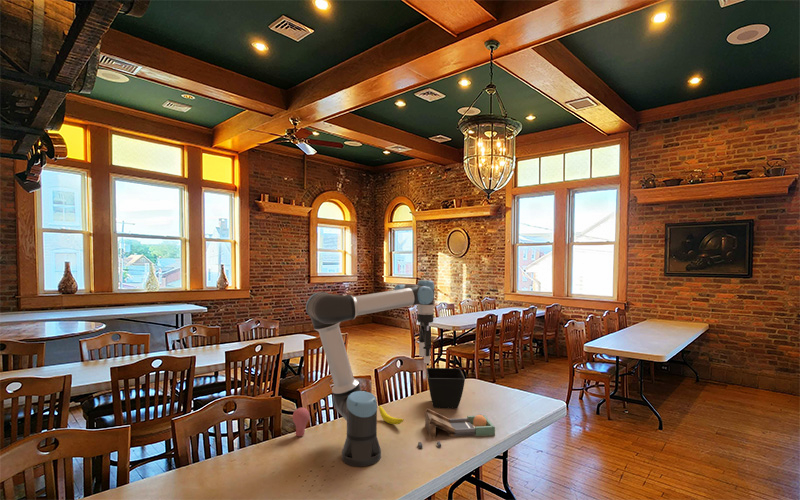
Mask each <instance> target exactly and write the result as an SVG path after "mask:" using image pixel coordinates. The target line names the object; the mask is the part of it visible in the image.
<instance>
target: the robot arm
mask: <svg viewBox="0 0 800 500" xmlns="http://www.w3.org/2000/svg"><path fill="white" fill-rule="evenodd" d="M434 283H435V281H434V280H430V279H429V280H427V279H426V280H425V279H423V280H422V279H419V280H418V281H417V283H416V284H411V283H410V284H404V283H401V284H396V285H395V286H394V288H393V290H392V289H391V290H387V291H380V292H373V293H368V294H362V295H355V296H353V295H352V294H346V295H340V294H339V295H338V294H332V293H328V292H325V291H321V292H316V293H313V294H311V296H309V298H308V299H307V302H306V304H305V311H306V314H307V315H308V317H309V318H310V320H311V324H312V328H313V329H314V331H317V332H318V334H319V337H320V342H321V344H322V349H323V352H324V355H325V358H326V361H327V366H328V368H329V372H330V376H331V379H332V382H333V386H332V389H331V393H332V403H333V407H334V409H335V410H336V412H337V413H338V414H339V415H340V416H341V417H342V418H343V419H344V420H345V421H346V438H345V441H344V444H343V447H342V450H341V460H342V461H343V463H344V464H346V465H348V466H351V467H360V468H361V467H362V468H363V467H368V466H372V465H374V464H376V463H378V462H380V460H381V458H382V449H381V446H380V443H379V439H378V435H377V433H378V431H377V427H378V426H377V423H378V403H377V401H378V400H377V397H376V396H375V395H374V394H373V393H372V392H367V391H366V390H365V391H364V390H362V389H361V385H360V381H359V380H358V379H357V378H355V377H354V374H353V370H352V366H351V363H350V360H349V356H348V352H347V349H346V345H345V342H344V338H343V335H342V332H341V327H340V324H341V323H342V322H347V321H351V320H355V319H356V317H358V316H362V315H363V316H364V315H368V314H373V313H379V312H385V311H389V310H394V309H400V308H404V307H410V306H417V311H416V312H417V317H416V318H417V319H416V320H417V322H418V323H419V331H418V332H419V333H418V341H419V343H418V344H419V345H418V356H419V357H423V363H424V364H431V349H432V335H431V332H432V331H431V328H432V327H431V325H430V323H431V324H432V323H434V312H435V311H434V309H436V307H435V306H434V305H435V301H434V298H435V284H434Z"/></svg>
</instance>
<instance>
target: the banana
mask: <svg viewBox="0 0 800 500" xmlns="http://www.w3.org/2000/svg"><path fill="white" fill-rule="evenodd" d="M378 409H379V413H380V416H381V418H382V420H383V421H384V422H385V423H386V424H387V423H388V424H390V425H399V424H402V423H403V422H404V421H405V420H404V419H403V418H399V417H398V418H397V417H393V416H391V415H389V414H388V413H387V412H386V410H385V409H384V407H382V405H381V404H378Z"/></svg>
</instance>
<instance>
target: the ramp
mask: <svg viewBox="0 0 800 500" xmlns="http://www.w3.org/2000/svg"><path fill="white" fill-rule="evenodd" d="M450 419H451V418H448V417H446V416H444V415H443V414H440V413H438V412H436V411H434V410H431V409H430V408H428V407H427V408H426V410H425V411H424V421H425V422H424V426H425V429H426V431H427V434H428V436H429V438H436V435H437V433H436V430H437V429H440V430H442V431H444V432H447V434H448V435H449V437H456V436H455V433H456V432H455V430H456V429H455V428H453V427H452V426H451V424H450V422H449V420H450ZM436 428H437V429H436Z"/></svg>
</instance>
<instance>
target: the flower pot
mask: <svg viewBox="0 0 800 500" xmlns="http://www.w3.org/2000/svg"><path fill="white" fill-rule="evenodd" d="M426 377H427V382H428V389H429V394H430V395H429V396H430V400H431V404H432V407H433V408H434V409H458V408H459V406H460V404H461V400H462V396H463V392H464V389H465V388H464V386H465V381H466V378H465V376H464V374H463V372H462V370H461V368H459V367H458V368H453V367H448V368H447V367H427V368H426Z"/></svg>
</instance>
